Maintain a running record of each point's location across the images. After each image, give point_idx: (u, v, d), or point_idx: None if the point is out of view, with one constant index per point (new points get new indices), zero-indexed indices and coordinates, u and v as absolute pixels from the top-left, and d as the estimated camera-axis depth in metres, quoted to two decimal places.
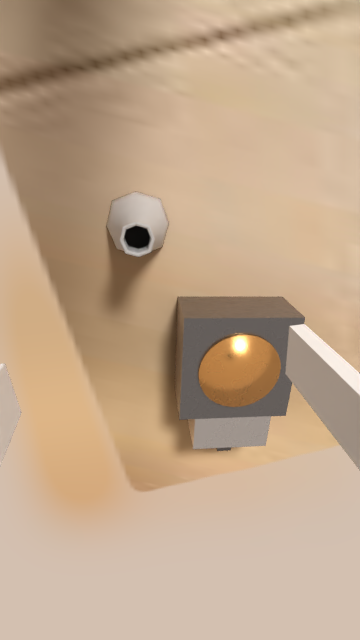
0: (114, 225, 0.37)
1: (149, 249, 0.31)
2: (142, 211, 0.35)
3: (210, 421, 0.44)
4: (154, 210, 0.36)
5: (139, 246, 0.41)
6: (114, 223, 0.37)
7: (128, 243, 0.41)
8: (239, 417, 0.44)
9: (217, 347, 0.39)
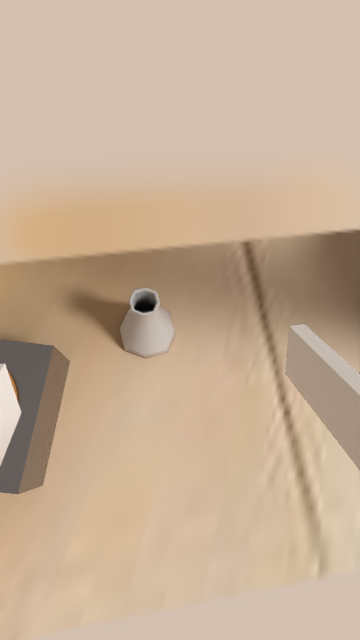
0: (151, 304, 0.42)
1: (134, 310, 0.35)
2: (162, 324, 0.40)
3: None
4: (160, 338, 0.41)
5: None
6: (153, 305, 0.42)
7: None
8: None
9: None
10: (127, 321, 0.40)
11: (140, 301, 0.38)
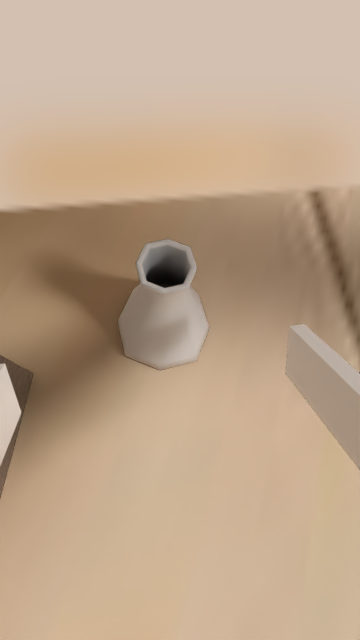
0: (172, 280, 0.25)
1: (146, 282, 0.17)
2: (192, 314, 0.23)
3: None
4: (188, 338, 0.23)
5: None
6: (174, 281, 0.25)
7: None
8: None
9: None
10: (131, 307, 0.23)
11: (156, 270, 0.21)
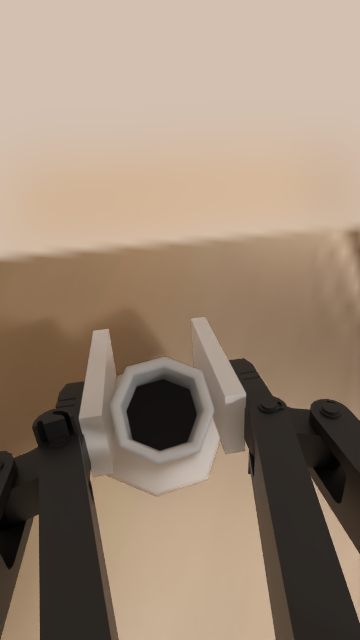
0: None
1: (128, 442, 0.10)
2: None
3: None
4: (197, 466, 0.16)
5: None
6: None
7: None
8: None
9: None
10: None
11: (147, 383, 0.14)
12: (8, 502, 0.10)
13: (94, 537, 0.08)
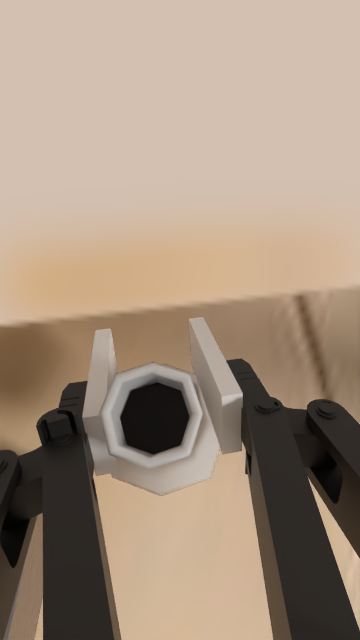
0: None
1: (118, 449, 0.10)
2: (201, 437, 0.15)
3: None
4: (198, 465, 0.16)
5: None
6: None
7: (126, 402, 0.20)
8: None
9: None
10: None
11: (141, 387, 0.14)
12: (12, 501, 0.10)
13: (97, 536, 0.08)
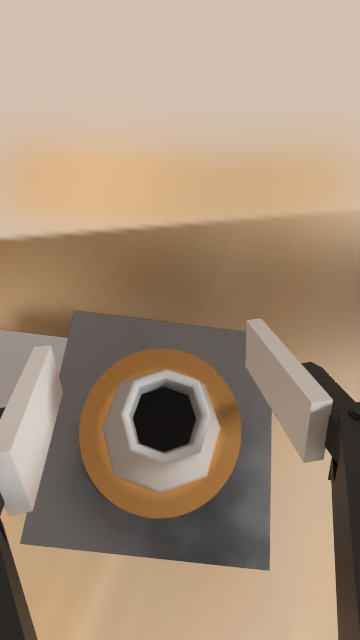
0: None
1: (137, 447, 0.11)
2: None
3: None
4: (197, 464, 0.17)
5: None
6: None
7: None
8: None
9: (221, 383, 0.22)
10: (118, 428, 0.17)
11: None
12: None
13: (7, 576, 0.07)
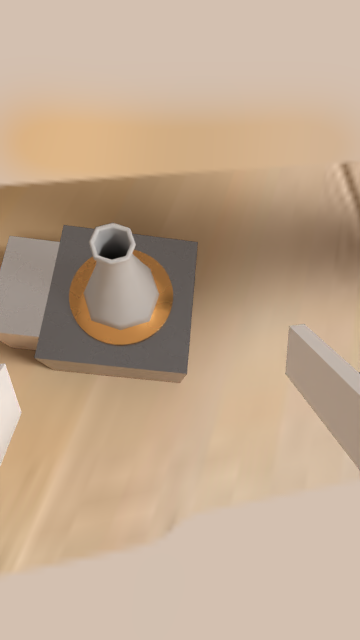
0: None
1: (97, 255, 0.23)
2: (140, 282, 0.29)
3: (50, 259, 0.34)
4: (139, 301, 0.30)
5: None
6: None
7: None
8: (47, 294, 0.33)
9: (161, 270, 0.34)
10: (92, 279, 0.29)
11: (108, 248, 0.27)
12: None
13: None
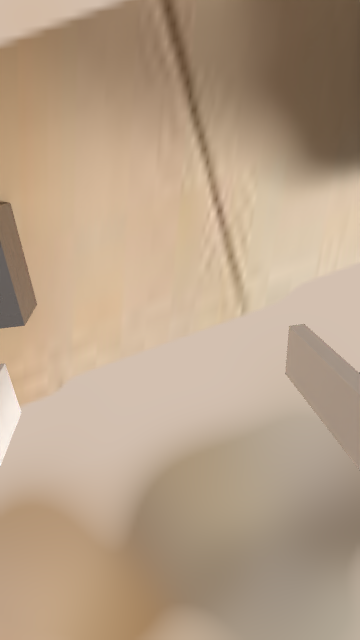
0: None
1: None
2: None
3: None
4: None
5: None
6: None
7: None
8: None
9: None
10: None
11: None
12: None
13: None
